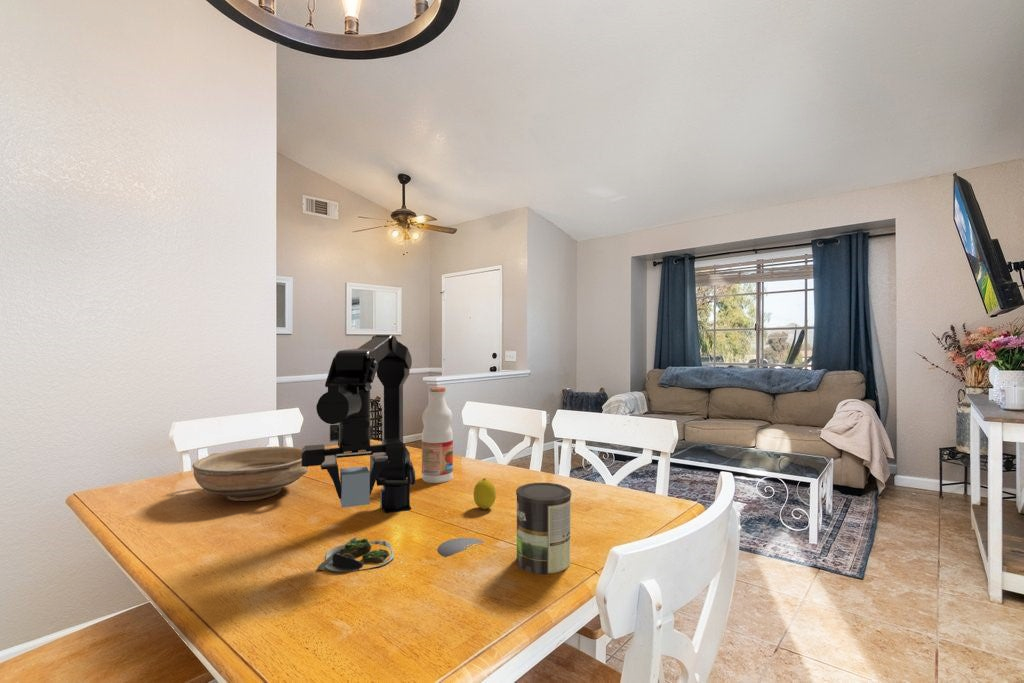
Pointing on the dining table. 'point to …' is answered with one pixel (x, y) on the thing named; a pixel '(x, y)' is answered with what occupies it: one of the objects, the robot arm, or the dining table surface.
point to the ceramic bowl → (250, 472)
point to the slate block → (355, 486)
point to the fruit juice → (437, 439)
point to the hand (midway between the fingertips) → (354, 496)
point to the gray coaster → (456, 546)
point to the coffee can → (543, 527)
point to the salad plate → (345, 555)
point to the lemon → (484, 494)
